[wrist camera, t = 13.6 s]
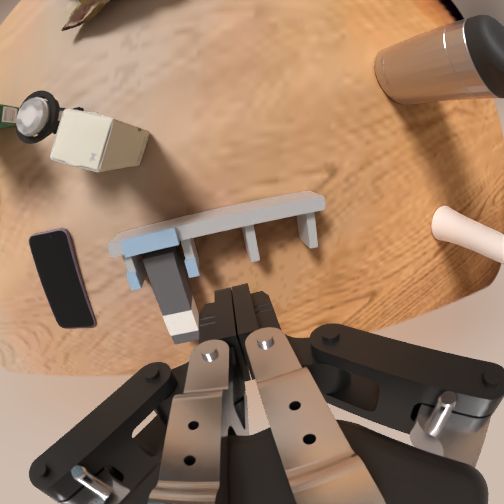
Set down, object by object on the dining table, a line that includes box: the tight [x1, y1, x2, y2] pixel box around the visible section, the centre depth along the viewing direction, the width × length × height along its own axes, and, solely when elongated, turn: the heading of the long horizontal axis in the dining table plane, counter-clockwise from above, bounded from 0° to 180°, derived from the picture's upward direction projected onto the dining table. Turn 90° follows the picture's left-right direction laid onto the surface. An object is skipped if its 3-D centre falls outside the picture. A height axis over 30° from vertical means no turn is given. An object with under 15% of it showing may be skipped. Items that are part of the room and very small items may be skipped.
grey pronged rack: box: [107, 190, 326, 290], centre depth 31 cm, size 24×6×6 cm, turn 100°
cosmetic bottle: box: [431, 206, 504, 264], centre depth 29 cm, size 6×6×22 cm
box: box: [50, 109, 150, 172], centre depth 22 cm, size 5×4×13 cm
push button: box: [16, 91, 98, 144], centre depth 22 cm, size 7×5×10 cm
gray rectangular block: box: [143, 245, 200, 344], centre depth 34 cm, size 12×4×4 cm, turn 11°
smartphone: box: [29, 228, 96, 328], centre depth 32 cm, size 7×1×15 cm
